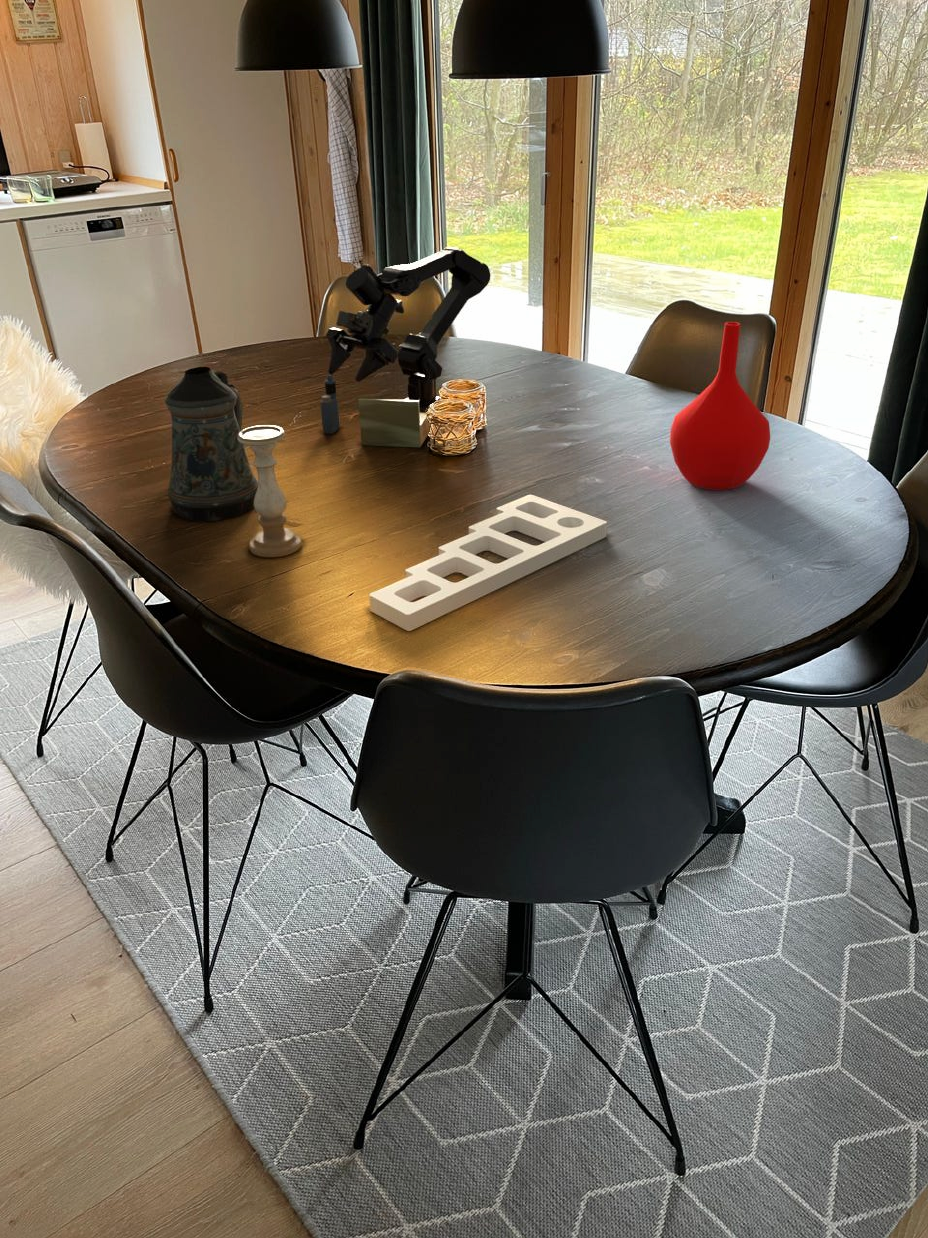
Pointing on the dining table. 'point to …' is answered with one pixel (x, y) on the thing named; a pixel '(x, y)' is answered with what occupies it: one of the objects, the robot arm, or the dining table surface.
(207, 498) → the beer stein
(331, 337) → the robot arm
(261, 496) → the candle holder
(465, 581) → the holder
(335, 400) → the vaping device
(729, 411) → the vase
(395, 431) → the glossy olive-green box
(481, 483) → the dining table surface
